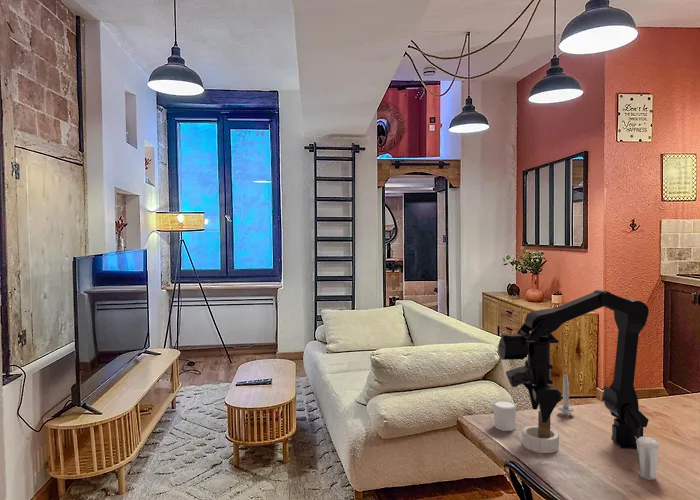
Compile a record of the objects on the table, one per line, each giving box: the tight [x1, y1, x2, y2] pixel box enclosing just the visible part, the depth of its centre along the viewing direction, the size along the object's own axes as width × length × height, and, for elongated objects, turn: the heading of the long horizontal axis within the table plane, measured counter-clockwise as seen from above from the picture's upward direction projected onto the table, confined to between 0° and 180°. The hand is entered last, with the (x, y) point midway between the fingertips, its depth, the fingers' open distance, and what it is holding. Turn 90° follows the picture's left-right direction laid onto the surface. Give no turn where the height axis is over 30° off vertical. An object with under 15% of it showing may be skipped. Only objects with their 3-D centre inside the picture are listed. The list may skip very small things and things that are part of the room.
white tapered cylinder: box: [492, 400, 518, 432], centre depth 142 cm, size 7×7×7 cm
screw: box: [557, 373, 575, 417], centre depth 150 cm, size 13×5×5 cm
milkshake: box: [635, 436, 660, 481], centre depth 112 cm, size 4×5×10 cm
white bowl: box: [521, 425, 560, 454], centre depth 129 cm, size 9×9×4 cm
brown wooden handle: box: [537, 410, 551, 438], centre depth 129 cm, size 3×3×9 cm
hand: (539, 415), depth 129 cm, fingers open, 9 cm apart
